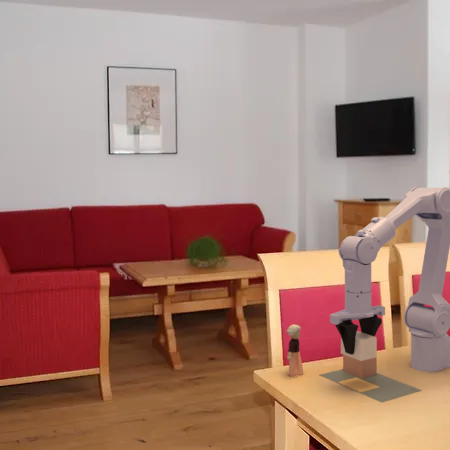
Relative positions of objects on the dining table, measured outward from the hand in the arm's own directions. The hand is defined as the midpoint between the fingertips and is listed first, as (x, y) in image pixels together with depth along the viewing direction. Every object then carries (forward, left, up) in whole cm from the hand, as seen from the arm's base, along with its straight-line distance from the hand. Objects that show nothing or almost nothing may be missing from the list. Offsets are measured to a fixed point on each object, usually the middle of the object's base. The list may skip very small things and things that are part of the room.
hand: (358, 351), depth 130 cm
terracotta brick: (-6, -6, -8) cm, 11 cm away
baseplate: (-3, 0, -8) cm, 9 cm away
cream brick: (0, 0, -1) cm, 1 cm away
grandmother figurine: (+7, -14, -9) cm, 18 cm away
